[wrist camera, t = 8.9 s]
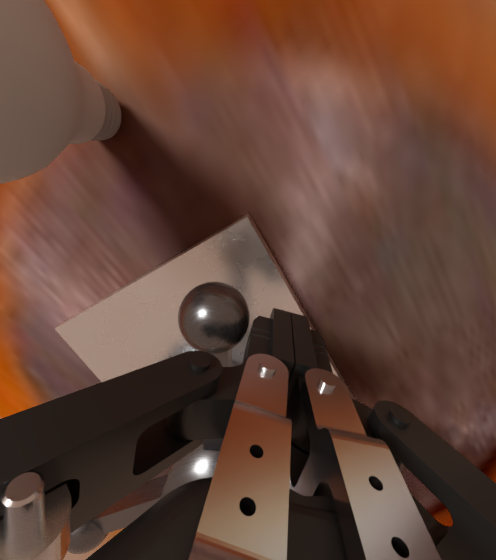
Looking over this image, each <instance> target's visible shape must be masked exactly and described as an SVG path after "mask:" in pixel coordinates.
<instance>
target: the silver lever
mask: <svg viewBox="0 0 496 560" xmlns="http://www.w3.org/2000/svg"><path fill="white" fill-rule="evenodd" d="M249 323H250V312H249V307H248V304H247V302H246V300H245V298H244V297H243V295H242V294H241V293H240V292H239V291H238V290H237V289H236V288H234V287H232V286H231V285H229V284H226V283H222V282H206V283H203V284H200V285H198V286H196V287H195V288H193V289H192V290H191V291H189V292H188V294H187V295H186V296H185V297H184V299H183V300H182V302H181V305H180V307H179V311H178V325H179V329H180V332H181V334H182V336H183V338H184V339H185V340H186V342H187V343H188V344H189V345H190V346H192V347H193V348H195V349H196V350H199V351H205V352H208V353H210V354H212V355H214V356H215V357H217V358H218V359H219V361H220V362H221V364H222V367H233V366H238V364H236V363H234V362H232V348H234V347H235V346H236V345H238V344H239V343H240V342H241V340H242V339H243V338H244V336H245V334H246V333H247V330H248V327H249ZM223 439H224V438H221V439H204V441H203V442H202V444H201V445H200V446H199V447H198V448H196V449H195V450H193V451H192V452H190V453H189V454H187V455H186V456H184V457H183V458H181V459H180V460H178V461H177V462H176V463H174V464H173V465H171V468H170V471H169V474H168V475H165V476H162V477H159V478H156V479H153V480H151V481H148V482H146V483H144V484H143V485H142V486H140V487H139V488H137V489H136V490H134V491H133V492H131V493H130V494H128V495H127V496H125V497H124V498H122V499H121V500H119V501H118V502H116V503H115V504H113V505H112V506H111V507H109V508H108V509H106V510H105V511H103V512H102V513H100V514H99V515H97V516H96V517H94V518H93V519H91V520H90V521H88V522H87V523H85V524H84V525H82V526H81V527H80V528H78V529H77V530H75V531H74V532H72V533H71V536H70V543H69V547H68V550H67V551H68V552H70V553H73V554H82V553H86V552H89V551H91V550H93V549H94V548H96V547H97V546H98V545H99V544H100V543H101V542H102V541H103V540H104V539H105V537H106V536H107V535H108V533H109V532H112V531H115V530H118V529H121V528H125V527H127V526H128V525H129V524H131V523H132V522H133V521H134V520H136V519H137V518H138V517H139V516H141V515H142V514H143V513H144V512H145V511H147V510H148V509H149V508H150V507H152V506H153V505H154V504H155V503H157V502H158V501H159V500H160V499H162V498H163V497H164V496H165V495H167V494H168V493H169V492H171V491H173V490H174V489H176V488H178V487H179V486H182V485H184V484H186V483H188V482H191V481H195V480H198V479H202V478H209V477H212V476H213V473H214V469H215V466H216V463H217V459H218V456H219V452H220V449H221V446H222V442H223Z"/></svg>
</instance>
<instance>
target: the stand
mask: <svg viewBox="0 0 496 560" xmlns="http://www.w3.org/2000/svg"><path fill="white" fill-rule="evenodd" d="M206 282H222V283H226V284H229V285H231V286H232V287H234V288H236V289H237V290H238V291H239V292H240V293H241V294H242V295H243V297H244V298H245V300H246V302H247V304H248V307H249V312H250V323H249V327H248V330H247V333H246V334H245V336H244V338H243V339H242V340H241V342H240V343H239V344H238V345H236V346H235V347H234V348H232V362H234V363H236V364H238V365H240V364H242V363H243V357H244V352H245V348H246V344H247V341H248V337H249V334H250V330H251V327H252V323H253V320H254V319H256V318H257V317H258V316H263V317H267V318H270V315H271V312H272V310H273V308H276V309H280V310H284V311H288V312H292V313H295V314H299V315H303V316H307V314H306V312H305V311H304V309H303V307H302V305H301V303H300V302H299V300H298V298H297V296H296V295H295V293H294V291H293V289H292V288H291V286H290V284H289V282H288V281H287V279H286V277H285V275H284V273H283V272H282V270H281V268H280V266H279V265H278V263H277V261H276V259H275V258H274V256H273V254H272V252H271V251H270V249H269V247H268V245H267V244H266V242H265V240H264V238H263V236H262V235H261V233H260V231H259V229H258V228H257V226H256V224H255V222H254V221H253V219H252V217H251V215H250V214H249V213H248V214H246V215H244V216H243V217H241V218H239V219H238V220H236V221H234V222H232V223H231V224H229V225H227V226H226V227H224V228H222V229H220V230H219V231H217V232H215V233H214V234H212V235H210V236H208V237H207V238H205V239H203V240H202V241H200V242H198V243H196V244H195V245H193V246H191V247H190V248H188V249H186V250H184V251H183V252H181V253H179V254H178V255H176V256H174V257H172V258H171V259H169V260H167V261H166V262H164V263H162V264H160V265H159V266H157V267H155V268H154V269H152V270H150V271H148V272H147V273H145V274H143V275H142V276H140V277H138V278H136V279H135V280H133V281H131V282H130V283H128V284H126V285H125V286H123V287H121V288H119V289H118V290H116V291H114V292H113V293H111V294H109V295H107V296H106V297H104V298H102V299H101V300H99V301H97V302H95V303H94V304H92V305H90V306H89V307H87V308H85V309H83V310H82V311H80V312H78V313H77V314H75V315H73V316H71V317H70V318H68V319H67V320H66V321H64V322H63V323H62V324H60V325H59V326H58V327H56V328H55V330H56V331H57V332H58V333H59V334H60V335H61V337H62V338H63V339H64V340H65V341H66V342H67V343H68V345H69V346H70V347H71V348H72V349H73V350H74V351H75V352H76V354H77V355H78V356H79V357H80V358H81V359H82V360H83V362H84V363H85V364H86V365H87V366H88V367H89V368H90V369H91V371H92V372H93V373H94V374H95V375H96V376H97V377H98V379H99V380H100V381H101V382H104V381H107V380H110V379H112V378H115V377H118V376H121V375H124V374H126V373H129V372H132V371H135V370H137V369H140V368H143V367H146V366H148V365H151V364H154V363H157V362H159V361H162V360H165V359H168V358H170V357H173V356H176V355H179V354H181V353H184V352H187V351H192V350H196V349H195V348H193V347H192V346H190V345H189V344H188V343H187V342H186V340H185V339H184V338H183V336H182V334H181V332H180V329H179V325H178V311H179V307H180V305H181V302H182V300H183V299H184V297H185V296H186V295H187V294H188V292H189V291H191V290H192V289H193V288H195V287H196V286H198V285H200V284H203V283H206ZM307 317H308V316H307ZM308 321H309V326H310V329H312V330H315V328H314V326H313V325H312V323H311V321H310V319H309V318H308ZM327 355H328V357H329V360H330V364H331V368H332V371H333V374H335V375H336V376H337V377H339V378H340V379H341V380H342V381H343V382H344V384H345V385H346V383H345V381H344V379H343V377H342V376H341V374H340V372H339V370H338V369H337V367H336V365H335V363H334V362H333V360H332V358H331V356H330V355H329V353H328V351H327ZM346 387H347V389H348V391H349V394H350V396H351V398H352V399H354V397H353V395H352V393H351V392H350V390H349V388H348V386H347V385H346ZM354 400H355V399H354ZM355 401H356V400H355Z"/></svg>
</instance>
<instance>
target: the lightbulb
mask: <svg viewBox="0 0 496 560" xmlns="http://www.w3.org/2000/svg"><path fill="white" fill-rule="evenodd" d="M120 124H121V109H120V106H119V103H118V101H117V99H116V97H115V96H114V94H113V93H112V92H111V91H110V90H109V89H108V88H106V87H105V86H103V85H102V84H101V83H99V82H98V81H96V80H95V79H94V77H93V76H92V75H91V74H90V73H89V72H88V71H87V70H86V69H85V68H84V67H82V66H81V65H80V64H78V63H77V62H75V61H74V58H73V56H72V53H71V50H70V48H69V46H68V44H67V41H66V39H65V37H64V35H63V33H62V31H61V29H60V27H59V25H58V23H57V21H56V19H55V17H54V15H53V14H52V12H51V10H50V8H49V7H48V6H47V4H46V3H45V2H44V0H0V183H6V182H10V181H14V180H17V179H21V178H23V177H26V176H29V175H32V174H34V173H36V172H38V171H39V170H41V169H43V168H45V167H47V166H48V165H49V164H50V163H51V162H52V161H53V160H54V159H55V158H56V157H57V156H58V155H59V154H60V153H61V152H62V151H63V150H64V149H65V148H66V147H67V146H68V144H81V143H84V142H87V141H89V140H106V139H109V138H111V137H113V136H114V135H115V134H116V132H117V131H118V129H119V127H120Z"/></svg>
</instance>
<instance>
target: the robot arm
mask: <svg viewBox="0 0 496 560" xmlns="http://www.w3.org/2000/svg"><path fill="white" fill-rule="evenodd" d="M221 438H224V439H223V442H222V446H221V449H220V452H219V456H218V459H217V463H216V466H215V469H214V473H213V476H212V477H209V478H202V479H198V480H195V481H191V482H188V483H186V484H184V485H182V486H179V487H178V488H176V489H174V490H173V491H171V492H169V493H168V494H167V495H165V496H164V497H163V498H162V499H160V500H159V501H158V502H157V503H155V504H154V505H153V506H152V507H150V508H149V509H148V510H147V511H145V512H144V513H143V514H142V515H141V516H139V517H138V518H137V519H136V520H134V521H133V522H132V523H131V524H129V525H128V526H127V527H126V528H124V529H123V530H122V531H121V532H119V533H118V534H117V535H116V536H114V537H113V538H112V539H111V540H110V541H108V542H107V543H106V544H105V545H103V546H102V547H101V548H100V549H99V550H97V551H96V552H95V553H93V554H92V555H91V556H90V557H88V558H87V559H86V560H496V483H495V482H494V481H492V480H491V479H490V478H489V477H488V476H486V475H485V474H484V473H483V472H482V471H480V470H479V469H478V468H477V467H475V466H474V465H473V464H472V463H471V462H469V461H468V460H467V459H466V458H465V457H463V456H462V455H461V454H460V453H459V452H457V451H456V450H455V449H454V448H453V447H451V446H450V445H449V444H448V443H447V442H445V441H444V440H443V439H442V438H440V437H439V436H438V435H437V434H436V433H434V432H433V431H432V430H431V429H430V428H428V427H427V426H426V425H425V424H424V423H422V422H421V421H420V420H419V419H418V418H416V417H415V416H414V415H413V414H411V413H410V412H409V411H408V410H406V409H405V408H403V407H402V406H400V405H398V404H395V403H393V402H390V401H379V402H377V403H376V404H375V406H374V408H373V409H371V408H369V407H367V406H365V405H363V404H361V403H359V402H357V401H355V400H354V399H352V398H351V396H350V394H349V391H348V389H347V387H346V385H345V384H344V382H343V381H342V380H341V379H340V378H339V377H337V376H336V375H335V374H333V371H332V368H331V364H330V360H329V357H328V355H327V349H326V346H325V342H324V339H323V338H322V336H321V335H320V334H319V333H318V331H316V330H312V329H310V326H309V321H308V317H307V316H303V315H299V314H295V313H292V312H288V311H284V310H280V309H276V308H273V310H272V312H271V315H270V318H267V317H263V316H258V317H257V318H256V319H254V320H253V323H252V327H251V330H250V334H249V337H248V341H247V344H246V348H245V352H244V357H243V363H242V364H240V365H238V366H233V367H222V364H221V362H220V361H219V359H218V358H217V357H215V356H214V355H212V354H210V353H208V352H205V351H199V350H192V351H187V352H184V353H181V354H179V355H176V356H173V357H170V358H168V359H165V360H162V361H159V362H157V363H154V364H151V365H148V366H146V367H143V368H140V369H137V370H135V371H132V372H129V373H126V374H124V375H121V376H118V377H115V378H112V379H110V380H107V381H104V382H101V383H99V384H96V385H93V386H90V387H88V388H85V389H82V390H79V391H77V392H74V393H71V394H68V395H66V396H63V397H60V398H57V399H54V400H52V401H49V402H46V403H43V404H41V405H38V406H35V407H32V408H30V409H27V410H24V411H21V412H19V413H16V414H13V415H10V416H8V417H5V418H2V419H0V560H63V559H64V557H65V555H66V553H67V550H68V547H69V543H70V536H71V533H72V532H74V531H75V530H77V529H78V528H80V527H81V526H82V525H84V524H85V523H87V522H88V521H90V520H91V519H93V518H94V517H96V516H97V515H99V514H100V513H102V512H103V511H105V510H106V509H108V508H109V507H111V506H112V505H113V504H115V503H116V502H118V501H119V500H121V499H122V498H124V497H125V496H127V495H128V494H130V493H131V492H133V491H134V490H136V489H137V488H139V487H140V486H142V485H143V484H144V483H146V482H147V481H149V480H150V479H152V478H153V477H155V476H156V475H158V474H159V473H161V472H162V471H164V470H165V469H167V468H168V467H170V466H171V465H173V464H174V463H176V462H177V461H178V460H180V459H181V458H183V457H184V456H186V455H187V454H189V453H190V452H192V451H193V450H195V449H196V448H198V447H199V446H200V445H201V444H202V442H203V441H204V439H221ZM404 466H406V467H407V468H408V469H409V470H410V471H411V472H412V473H413V474H414V475H415V476H416V477H417V478H418V479H419V480H420V481H421V482H422V483H423V484H424V485H425V486H426V487H427V488H428V489H429V490H430V491H431V492H432V493H433V494H434V495H435V496H436V497H437V498H438V499H439V500H440V501H441V502H442V503H443V504H444V505H445V506H446V507H447V509H448V510H449V512H450V514H451V516H452V519H453V526H450V527H448V526H444V525H442V524H441V523H439V522H438V521H437V520H436V519H435V518H434V517H433V516H432V515H431V514H430V513H429V512H428V511H427V510H426V509H425V508H424V507H423V506H422V505H421V504H420V503H419V502H418V501H417V500H416V499H415V497H414V496H413V495H412V494H411V493H410V492H409V490H408V488H407V485H406V483H405V481H404V479H403V477H402V475H401V473H400V472H401V470H402V469H403V467H404Z"/></svg>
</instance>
